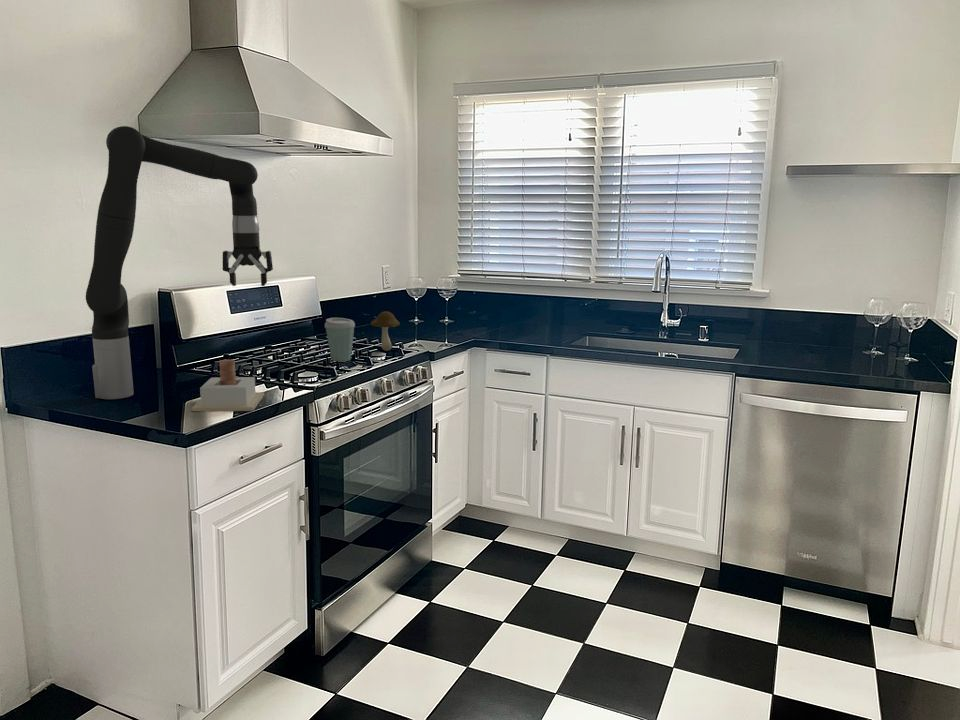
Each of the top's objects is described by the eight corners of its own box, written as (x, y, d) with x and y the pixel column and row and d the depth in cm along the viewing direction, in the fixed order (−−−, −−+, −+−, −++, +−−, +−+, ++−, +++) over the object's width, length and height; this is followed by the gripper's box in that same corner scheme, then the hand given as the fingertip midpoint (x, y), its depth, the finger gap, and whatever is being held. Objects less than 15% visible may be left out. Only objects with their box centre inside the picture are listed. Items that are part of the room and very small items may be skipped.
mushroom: (379, 347, 290) (378, 308, 287) (405, 350, 285) (404, 311, 282) (366, 351, 282) (365, 311, 279) (391, 354, 277) (391, 314, 274)
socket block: (191, 411, 201) (190, 389, 200) (207, 396, 217) (206, 376, 215) (253, 410, 203) (251, 389, 201) (264, 395, 218) (263, 375, 217)
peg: (220, 401, 207) (217, 362, 205) (223, 398, 211) (220, 359, 209) (235, 401, 208) (233, 362, 206) (237, 397, 212) (235, 359, 210)
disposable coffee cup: (359, 358, 269) (358, 317, 266) (351, 365, 259) (350, 322, 256) (330, 357, 270) (329, 316, 267) (321, 364, 260) (320, 321, 257)
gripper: (218, 231, 219) (221, 287, 223) (268, 231, 220) (270, 287, 224) (224, 230, 226) (227, 284, 230) (272, 230, 228) (275, 284, 231)
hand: (248, 285), depth 227 cm, fingers open, 8 cm apart
